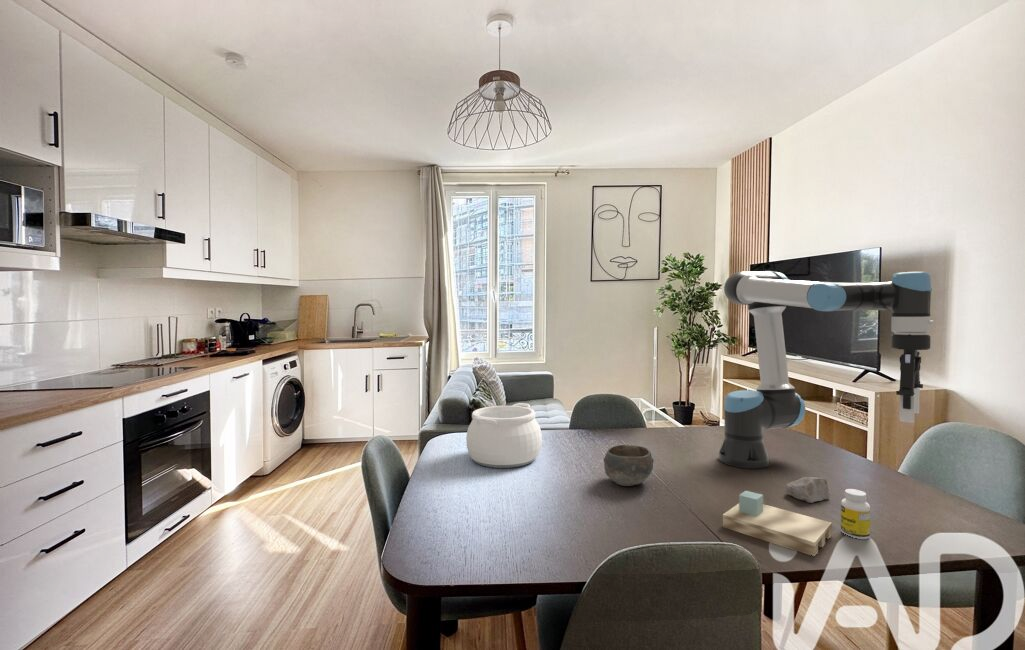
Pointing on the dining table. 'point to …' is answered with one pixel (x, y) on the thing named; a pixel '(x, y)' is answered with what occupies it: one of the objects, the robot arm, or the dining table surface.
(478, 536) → the dining table surface
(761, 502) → the pale blue cube
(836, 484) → the dining table surface
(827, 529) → the pallet
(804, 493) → the stone
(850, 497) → the supplement bottle
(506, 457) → the pot
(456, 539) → the dining table surface
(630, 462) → the bowl
